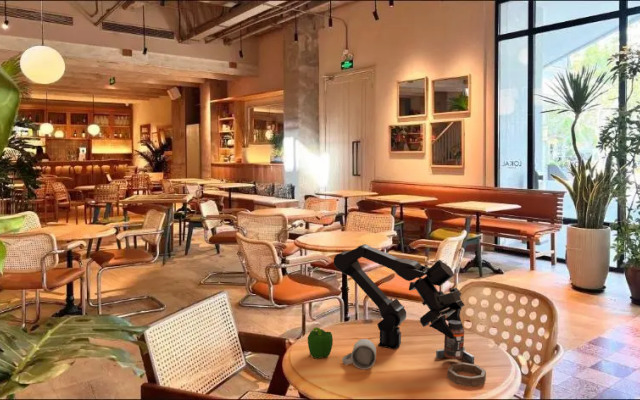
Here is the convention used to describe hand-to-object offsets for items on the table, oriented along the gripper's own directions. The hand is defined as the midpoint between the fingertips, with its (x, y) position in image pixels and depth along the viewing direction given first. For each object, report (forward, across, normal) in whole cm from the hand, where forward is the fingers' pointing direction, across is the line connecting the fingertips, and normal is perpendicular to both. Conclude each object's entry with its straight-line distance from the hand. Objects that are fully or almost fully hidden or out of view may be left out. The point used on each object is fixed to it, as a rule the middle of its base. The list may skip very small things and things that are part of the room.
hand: (458, 335), depth 163 cm
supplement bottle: (+4, 0, +6) cm, 8 cm away
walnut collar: (+12, -8, +1) cm, 14 cm away
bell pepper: (-18, -27, +32) cm, 45 cm away
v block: (+5, +4, +8) cm, 10 cm away
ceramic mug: (-8, -23, +22) cm, 33 cm away
